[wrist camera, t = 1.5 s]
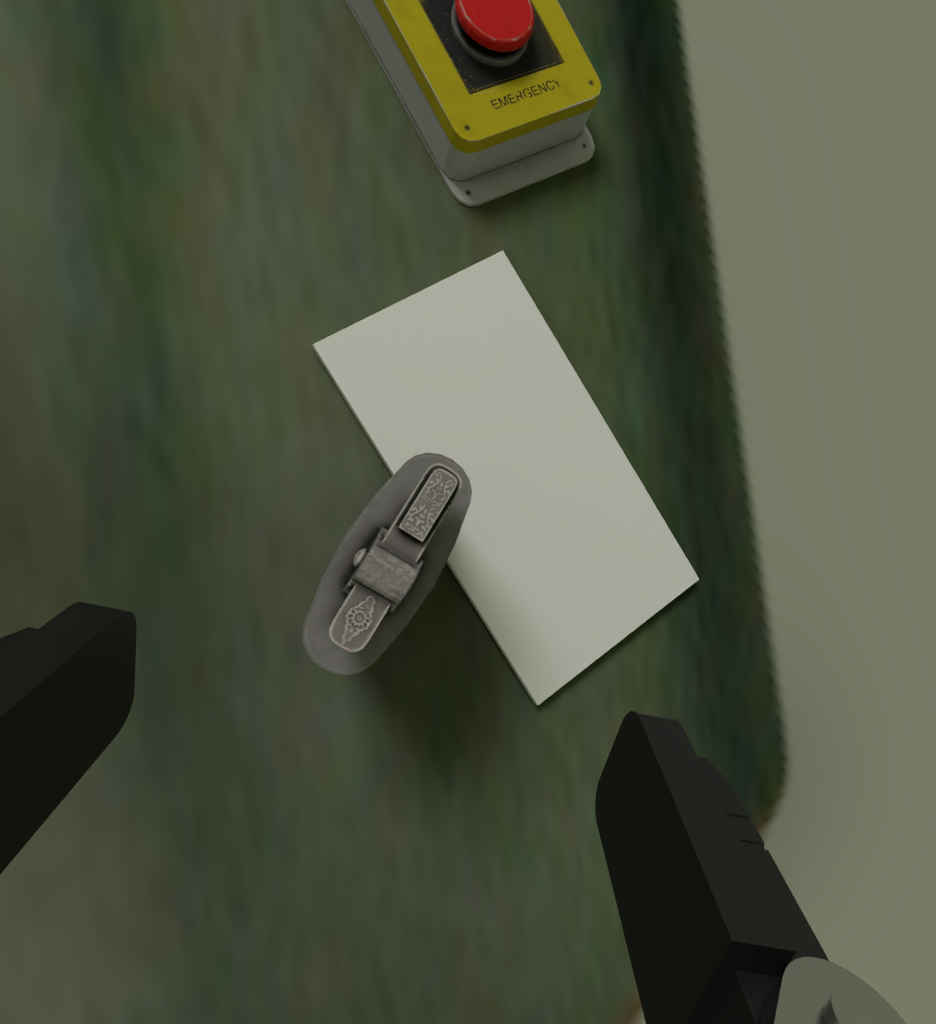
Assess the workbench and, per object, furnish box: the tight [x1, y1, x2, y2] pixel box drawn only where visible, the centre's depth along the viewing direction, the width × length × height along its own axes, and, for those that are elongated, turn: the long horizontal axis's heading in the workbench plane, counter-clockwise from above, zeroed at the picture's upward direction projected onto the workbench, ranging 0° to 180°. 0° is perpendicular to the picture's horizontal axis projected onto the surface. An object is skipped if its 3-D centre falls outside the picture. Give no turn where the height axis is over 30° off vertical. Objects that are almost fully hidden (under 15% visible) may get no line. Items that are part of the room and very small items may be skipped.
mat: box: [313, 251, 699, 705], centre depth 28 cm, size 11×20×1 cm, turn 33°
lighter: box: [302, 453, 472, 675], centre depth 21 cm, size 8×3×10 cm, turn 150°
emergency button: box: [346, 0, 601, 207], centre depth 28 cm, size 9×4×15 cm
